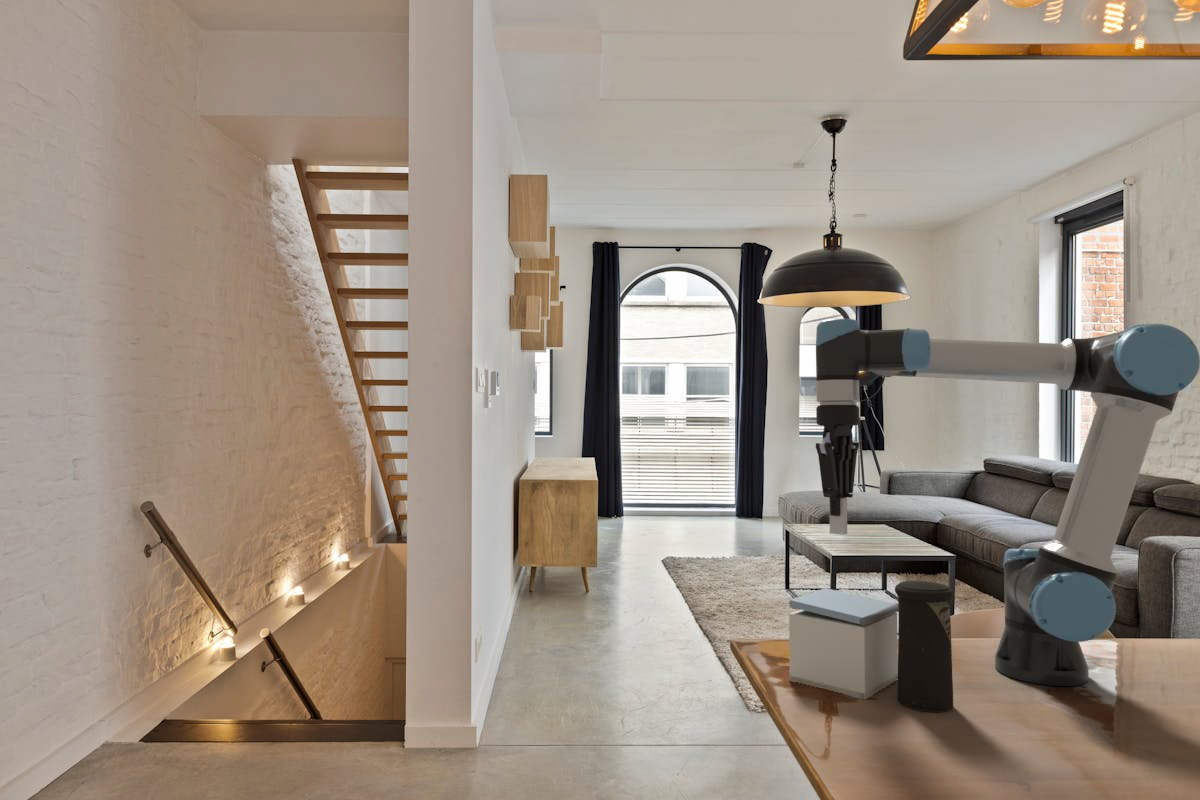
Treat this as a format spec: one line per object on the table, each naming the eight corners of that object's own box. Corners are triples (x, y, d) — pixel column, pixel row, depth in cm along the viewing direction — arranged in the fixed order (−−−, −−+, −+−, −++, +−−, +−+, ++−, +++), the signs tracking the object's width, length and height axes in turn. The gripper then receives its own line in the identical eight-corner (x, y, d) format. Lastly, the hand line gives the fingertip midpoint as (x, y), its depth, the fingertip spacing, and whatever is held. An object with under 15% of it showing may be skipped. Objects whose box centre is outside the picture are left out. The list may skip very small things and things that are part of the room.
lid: (788, 607, 139) (789, 599, 139) (825, 594, 150) (825, 587, 150) (867, 627, 129) (868, 618, 129) (901, 612, 140) (901, 604, 140)
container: (960, 715, 123) (958, 588, 123) (900, 711, 125) (899, 586, 125) (947, 697, 131) (946, 578, 132) (891, 693, 133) (890, 576, 134)
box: (897, 679, 140) (897, 613, 140) (864, 699, 130) (864, 627, 130) (825, 663, 149) (825, 600, 150) (789, 680, 139) (789, 613, 139)
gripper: (834, 405, 149) (835, 528, 148) (801, 403, 139) (802, 535, 139) (872, 404, 144) (873, 532, 143) (840, 403, 134) (841, 539, 134)
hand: (838, 533), depth 141 cm, fingers closed
